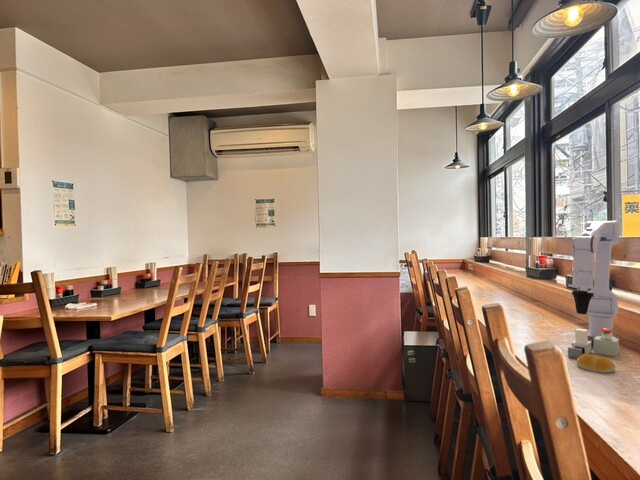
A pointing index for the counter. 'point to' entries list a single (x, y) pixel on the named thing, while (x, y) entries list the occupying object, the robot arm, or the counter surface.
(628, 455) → the counter surface
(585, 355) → the bread roll
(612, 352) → the box
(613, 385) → the counter surface
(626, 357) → the counter surface
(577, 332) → the carriage
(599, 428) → the counter surface
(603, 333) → the red push knob
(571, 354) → the rail
